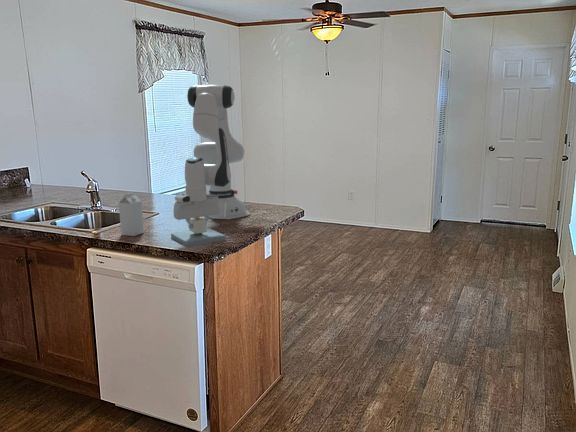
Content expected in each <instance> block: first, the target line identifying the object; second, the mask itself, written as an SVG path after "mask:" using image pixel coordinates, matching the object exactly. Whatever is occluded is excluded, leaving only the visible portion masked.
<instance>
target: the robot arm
mask: <svg viewBox="0 0 576 432" xmlns="http://www.w3.org/2000/svg"><path fill="white" fill-rule="evenodd" d="M235 96H236V95H235V92H234V89H233V88H232V86H230V85H225V84H224V85H222V84H201V85H198V84H194V85H190V87H189V88H188V90H187V96H186V98H187V102H188V105H189V106H191V108H193V113H192V126H193V127H192V128H193V130H194V132H196V134H197V135H199V136H200V137H202V138H204V139H207V140H209V141H204V142H200V143H197V144H196V145H195V146H194V149H193V157H190V158H187V159H186V160H185V164H184V181H185V187H184V189H185V191H184V192H182V193H180V194H178V195H175V196H174V201H175V203H174V204H173V218H174V219H175V220H178V221H181V220H185V221H186V223H187V226H188V229H189V228H193V224H191V223H190V218H196V217H201V218H203V219H206V227H207V226H208V221H209V219H213V220H233V219H238V218H239V219H240V218H243V217H247V216H251V212H249V211H248V210H247V209H246V204H245V203H244V202H243V201H242V200H240V199H239V198H237V196H235V195H238V193H239V191H238V190H236V189H232V184H231V183H232V181H231V178H232V172H231V169H230V168H231V167H230V164H236V163H239V162H242V160H243V159H244V156H245V150H244V147H243V144H241V143H240V142H239V141H237V140H236V139H235V138H234V137H233V136H232V134H231V131H230V127H229V121H228V120H229V118H228V109H230V108H231V107H232V106H233V105H234V102H235ZM206 186H209V190H208V194H207V187H206Z"/></svg>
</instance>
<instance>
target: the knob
mask: <svg viewBox="0 0 576 432" xmlns="http://www.w3.org/2000/svg"><path fill="white" fill-rule="evenodd" d="M190 223H191V224H193V228H189V227H188V229H189V230H188V231H191V232H193V233H196V234H197V233H204V232H207V230H206V228H207V226H206V219H205V218H204V217H196V218H190Z"/></svg>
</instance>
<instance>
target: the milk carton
mask: <svg viewBox="0 0 576 432" xmlns="http://www.w3.org/2000/svg"><path fill="white" fill-rule="evenodd" d="M142 206H143V205H142V200H141V199H140V198H139V197H138V196H137V195H136V194H135V192H133V191H132V192H129V193H125V194H123V198H122V199H120V201H119V202H118V210H119V211H118V212H119V223H120V234H121V236H126V237H127V236H129V237H135V236H138V235H141V234H143V233H145V232H144V220H143V207H142Z"/></svg>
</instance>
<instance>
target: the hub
mask: <svg viewBox="0 0 576 432" xmlns="http://www.w3.org/2000/svg"><path fill="white" fill-rule="evenodd" d="M206 230H207V232H204V233H197V234H196V233H193V232H191V231H189V230H185V231H179V232H172V233H170V238H171V239H172V240H174V241H176V242H177V243H179V244H181V245H183V246H185V247H186V248H189V247H194V246H199V245H200V246H201V245H205V244H206V243H207V244H211V243H212V242H213V243H217V242H224V241H227V236H226V234H223V233H220V232H218V231H217V230H215V229H211V228H210V227H206ZM213 243H212V244H213ZM207 244H206V245H207Z"/></svg>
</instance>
